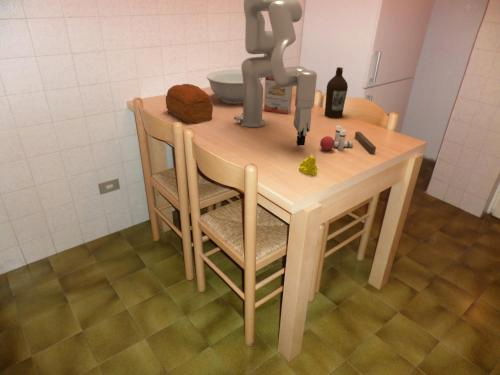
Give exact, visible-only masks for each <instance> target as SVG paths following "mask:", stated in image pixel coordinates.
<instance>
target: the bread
mask: <svg viewBox="0 0 500 375" xmlns="http://www.w3.org/2000/svg"><path fill="white" fill-rule="evenodd" d="M165 105H166V107H165V108H166V109H167V111H168V112H169V113H170V114H172V115H173V116H176V117H178V118H179V119H181V120H182V121H184V122H186V123H188V124H190V125H192V124H195V125H196V124H201V123H205V122H209V121H211V120H212V117H213V109H214V107H213V106H214V105H213V103H212V100H211V98H210V96H209V94H208V93H207V92H205V91H204V90H203V89H201V88H200V87H199V86H197V85H195V84H191V83H190V84H189V83H182V84H176V85H173V86H171V87H169V88H168V90H167V93H166V96H165Z"/></svg>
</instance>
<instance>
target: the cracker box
mask: <svg viewBox="0 0 500 375" xmlns="http://www.w3.org/2000/svg"><path fill="white" fill-rule="evenodd" d="M264 82H265V83H264V97H263V100H264V101H263V102H264V103H263V104H264V105H263V111H264V112H270V113H278V114H282V115H289V113H291V110H292V100H293V98H292V97H293V87H294V86H292V87H285V88H281V87H279V86H277V84H276V83H275V81H274V78H273V76H271V77H265V80H264Z"/></svg>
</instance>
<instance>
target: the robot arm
mask: <svg viewBox="0 0 500 375" xmlns="http://www.w3.org/2000/svg"><path fill="white" fill-rule="evenodd" d="M243 11H244V17H245V29H244V30H245V31H244V33H245V34H244V35H245V37H244V42H245V43H244V45H245V46H244V47H245V51H246V53H248V54H249V55H262V56H253V57H248V58H246V59H244V60H243V61H242V63H241V66H240V70H242V76H243V103H242V105H243V107H242V113H241V114H239V115H233V119H234V120H236V121H239V125H241V126H243V127H246V128H261V127H263V126H265V125H266V120H264V119H263V109H264V105H263V104H264V103H263V102H264V101H263V100H264V87H263V84H262V82H261V81H260V80H259V78H262V79H264V78H265V77H271V76H273V78H274V81H275V83H276V84H277V86H279V87H281V88H285V87H292V86H293V87H296V89H295V100H294V102H295V103H294V106H295V110H294V111H295V112H294V117H293V118H294V119H293V127H294V128H295V130H296V132H297V133H296V135H297V136H296V146H299V147H300V146H303V147H304V146H305V144H306V136H307V133H309V132H310V130H311V125H312V124H311V121H312V109H313V108H314V107H315V106H314V105H315V97H316V87H317V80H318V74H317V72H316V71H314V70H312V69H311V70H310V69H307V68H305V67H303V66H298V65H297V66H288V67H285V65H284V60H283V59H284V52H285V50H286V49H287V47H290V45H293V44H294V43H295V41H296V40H297V35H296V31H295V27H294V23H297V22H299V21H300V20H301V19H302V17H303V7H302V5H301V3H300V1H299V0H243ZM262 12H268V18H269V21H270V27H271V30H272V31H271V30H265V28H266V27H265V26H266V24H265V23H266V21H265V17H264V15H263V13H262Z"/></svg>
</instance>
